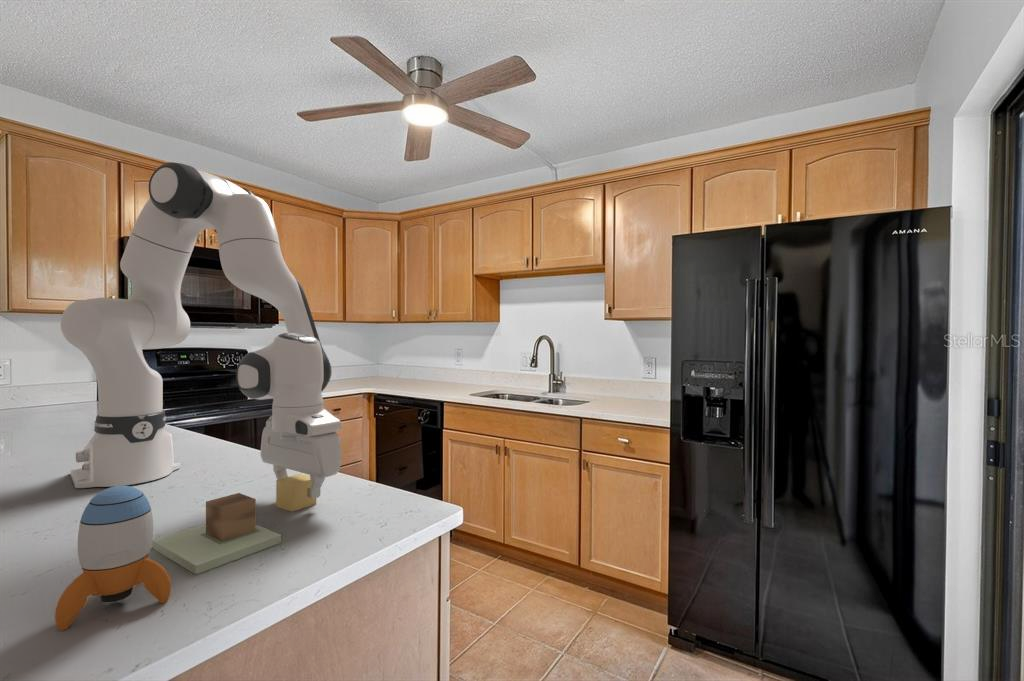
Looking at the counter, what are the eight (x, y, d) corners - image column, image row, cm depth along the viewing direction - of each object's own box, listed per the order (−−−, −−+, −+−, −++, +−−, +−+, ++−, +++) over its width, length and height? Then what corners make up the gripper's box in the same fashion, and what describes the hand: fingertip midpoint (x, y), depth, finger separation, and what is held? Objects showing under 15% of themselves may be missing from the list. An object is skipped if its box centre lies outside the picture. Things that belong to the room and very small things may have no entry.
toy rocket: (98, 593, 62) (132, 474, 64) (184, 604, 63) (215, 487, 65) (28, 630, 52) (71, 487, 54) (132, 643, 53) (170, 502, 55)
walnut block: (205, 533, 75) (205, 501, 75) (238, 523, 79) (238, 492, 79) (222, 541, 72) (222, 508, 72) (255, 530, 76) (255, 499, 76)
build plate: (151, 547, 72) (151, 539, 72) (233, 522, 83) (233, 514, 83) (196, 574, 65) (196, 564, 65) (280, 542, 75) (280, 534, 75)
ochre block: (276, 506, 90) (276, 479, 90) (300, 498, 95) (300, 473, 95) (292, 512, 88) (292, 484, 88) (316, 504, 92) (316, 478, 92)
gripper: (251, 416, 94) (251, 487, 94) (316, 428, 83) (316, 508, 83) (282, 412, 99) (282, 478, 100) (347, 422, 88) (347, 498, 88)
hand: (298, 492), depth 91 cm, fingers open, 8 cm apart
